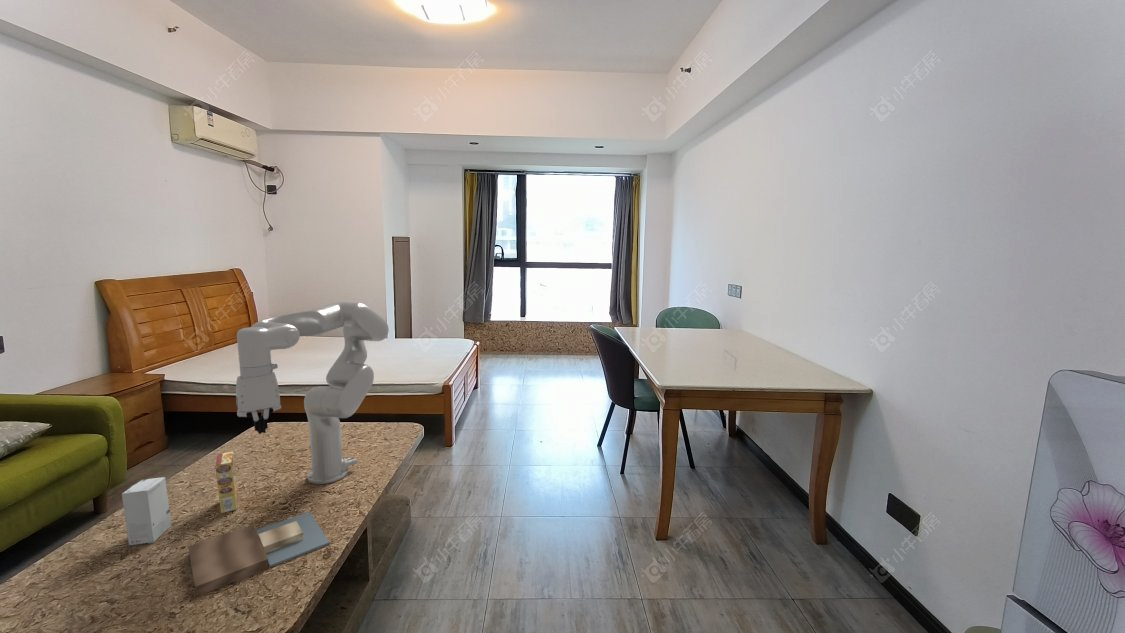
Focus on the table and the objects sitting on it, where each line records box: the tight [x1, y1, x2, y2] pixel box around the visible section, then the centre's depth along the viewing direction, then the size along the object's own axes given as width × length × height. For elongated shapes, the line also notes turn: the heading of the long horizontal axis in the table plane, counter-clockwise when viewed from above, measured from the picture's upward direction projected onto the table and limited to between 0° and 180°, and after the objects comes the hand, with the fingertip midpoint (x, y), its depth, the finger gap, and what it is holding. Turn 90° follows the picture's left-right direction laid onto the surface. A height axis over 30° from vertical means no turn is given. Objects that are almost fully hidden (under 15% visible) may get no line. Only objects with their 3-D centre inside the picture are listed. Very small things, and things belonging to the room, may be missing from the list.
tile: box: [258, 521, 303, 553], centre depth 122 cm, size 9×7×2 cm
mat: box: [255, 511, 331, 568], centre depth 124 cm, size 14×19×1 cm
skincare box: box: [121, 476, 172, 546], centre depth 124 cm, size 8×6×15 cm
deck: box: [187, 524, 270, 597], centre depth 115 cm, size 14×19×2 cm
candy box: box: [214, 451, 239, 514], centre depth 139 cm, size 9×4×15 cm, turn 33°
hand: (261, 431), depth 133 cm, fingers closed
